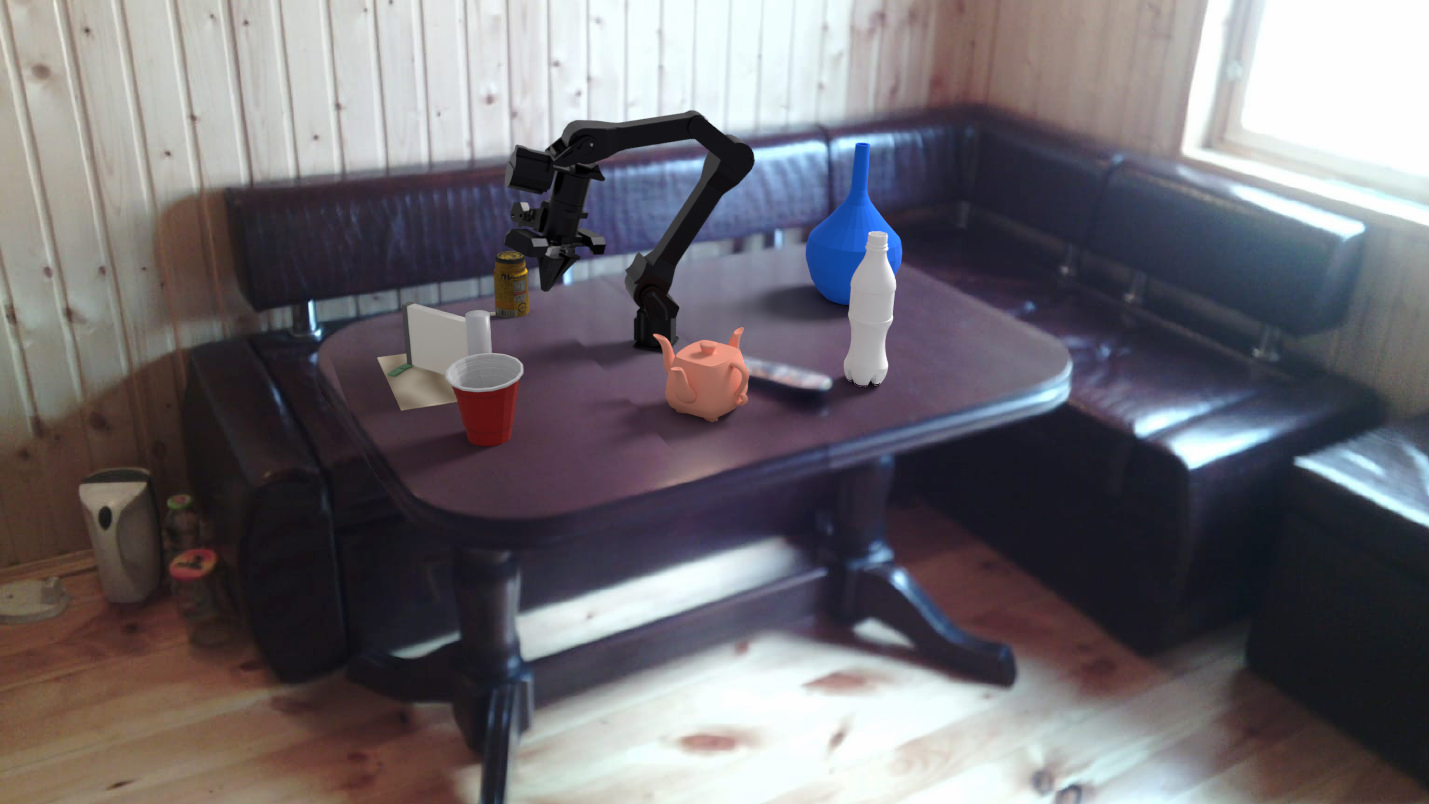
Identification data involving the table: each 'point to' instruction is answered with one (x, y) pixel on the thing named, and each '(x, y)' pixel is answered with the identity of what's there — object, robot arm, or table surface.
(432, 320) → the white panel grey edge
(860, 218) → the vase
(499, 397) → the plastic cup
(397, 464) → the table surface
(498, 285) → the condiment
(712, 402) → the teapot
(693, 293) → the table surface
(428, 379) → the board
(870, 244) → the water bottle
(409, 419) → the table surface
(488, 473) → the table surface
